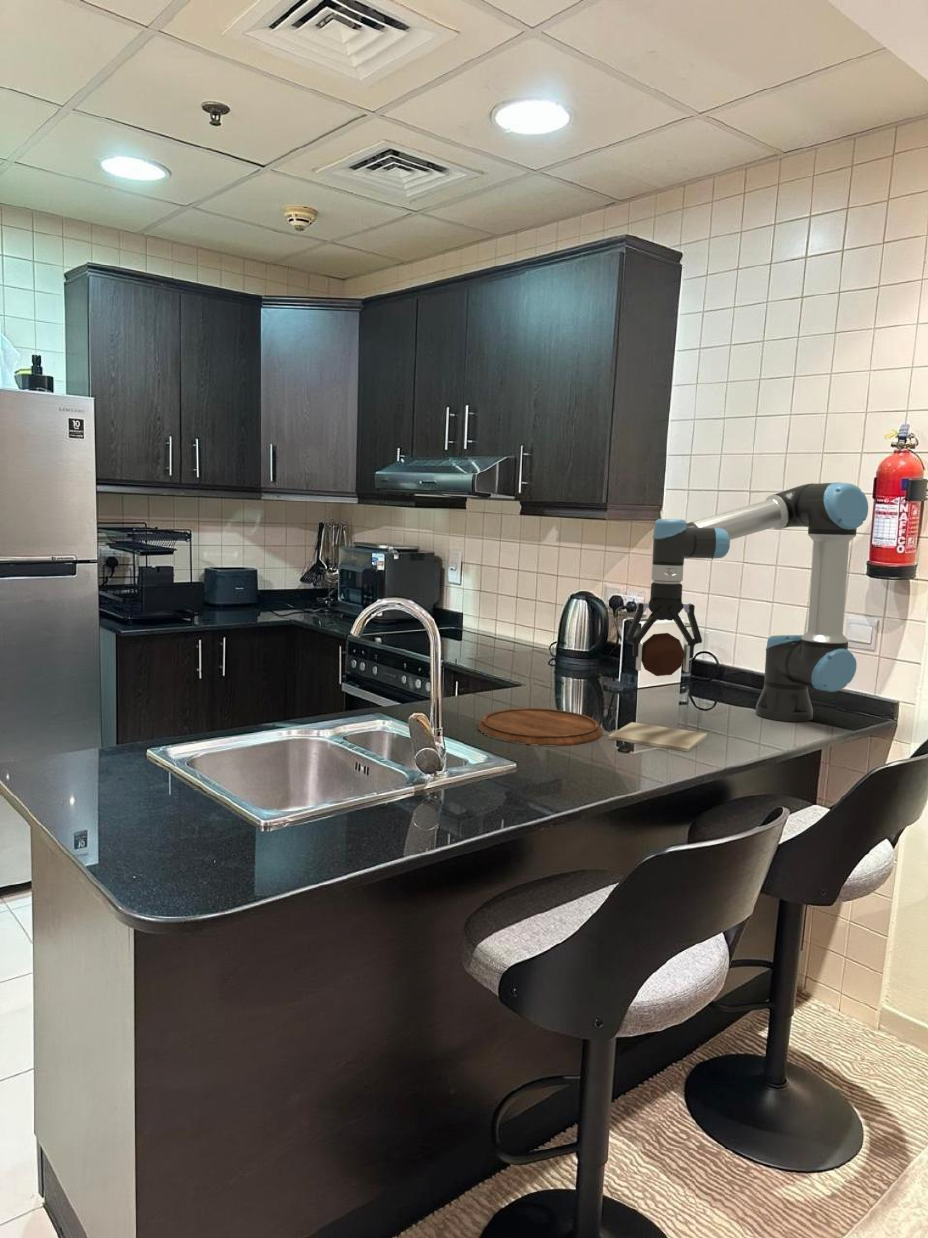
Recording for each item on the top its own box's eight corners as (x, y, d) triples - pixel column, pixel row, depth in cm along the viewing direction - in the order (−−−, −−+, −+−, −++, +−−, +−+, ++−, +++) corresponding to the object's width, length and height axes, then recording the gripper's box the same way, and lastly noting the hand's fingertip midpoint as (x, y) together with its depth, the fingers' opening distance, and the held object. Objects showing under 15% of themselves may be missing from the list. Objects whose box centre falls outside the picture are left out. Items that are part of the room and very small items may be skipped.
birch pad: (707, 736, 220) (707, 733, 220) (688, 751, 205) (688, 748, 205) (631, 725, 230) (631, 722, 230) (608, 738, 215) (608, 735, 215)
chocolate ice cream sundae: (641, 648, 206) (629, 639, 221) (658, 690, 207) (645, 678, 222) (683, 630, 205) (668, 622, 220) (700, 673, 207) (684, 662, 222)
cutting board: (552, 755, 200) (552, 745, 200) (451, 729, 222) (451, 720, 221) (627, 732, 224) (627, 722, 224) (529, 710, 245) (529, 702, 245)
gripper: (621, 582, 209) (617, 671, 212) (719, 584, 209) (713, 674, 212) (616, 579, 216) (612, 666, 219) (710, 582, 216) (705, 669, 219)
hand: (661, 670), depth 215 cm, fingers closed on chocolate ice cream sundae, 11 cm apart
